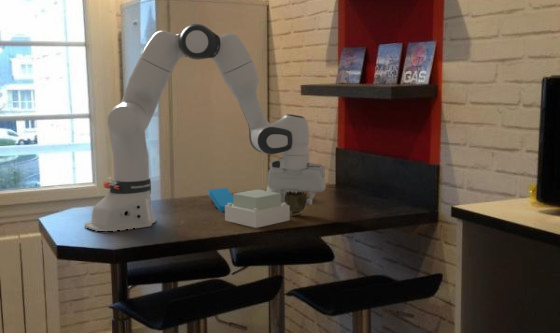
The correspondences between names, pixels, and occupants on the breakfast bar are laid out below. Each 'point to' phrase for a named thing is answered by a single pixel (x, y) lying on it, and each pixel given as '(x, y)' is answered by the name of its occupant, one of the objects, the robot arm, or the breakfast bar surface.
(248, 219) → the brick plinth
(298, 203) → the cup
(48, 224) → the breakfast bar surface
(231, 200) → the blue long block
